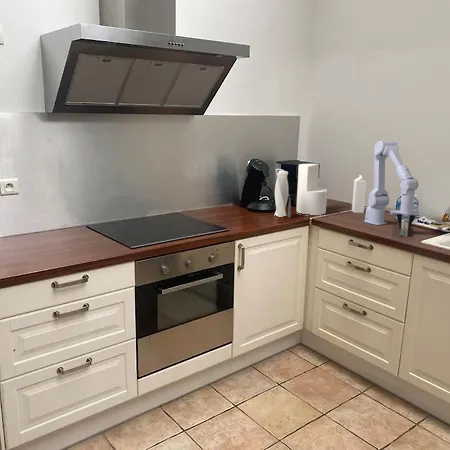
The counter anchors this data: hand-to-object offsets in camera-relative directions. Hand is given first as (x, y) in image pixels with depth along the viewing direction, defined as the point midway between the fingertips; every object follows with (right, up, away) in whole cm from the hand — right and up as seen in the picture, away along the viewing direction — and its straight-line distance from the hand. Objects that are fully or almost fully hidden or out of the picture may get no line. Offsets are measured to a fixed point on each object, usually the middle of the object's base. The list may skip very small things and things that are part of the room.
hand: (404, 229), depth 229 cm
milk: (-10, +10, +47) cm, 49 cm away
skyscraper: (-58, +6, +30) cm, 65 cm away
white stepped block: (-38, +10, +44) cm, 59 cm away
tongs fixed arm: (+2, 0, +5) cm, 5 cm away
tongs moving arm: (+1, -1, +4) cm, 4 cm away
